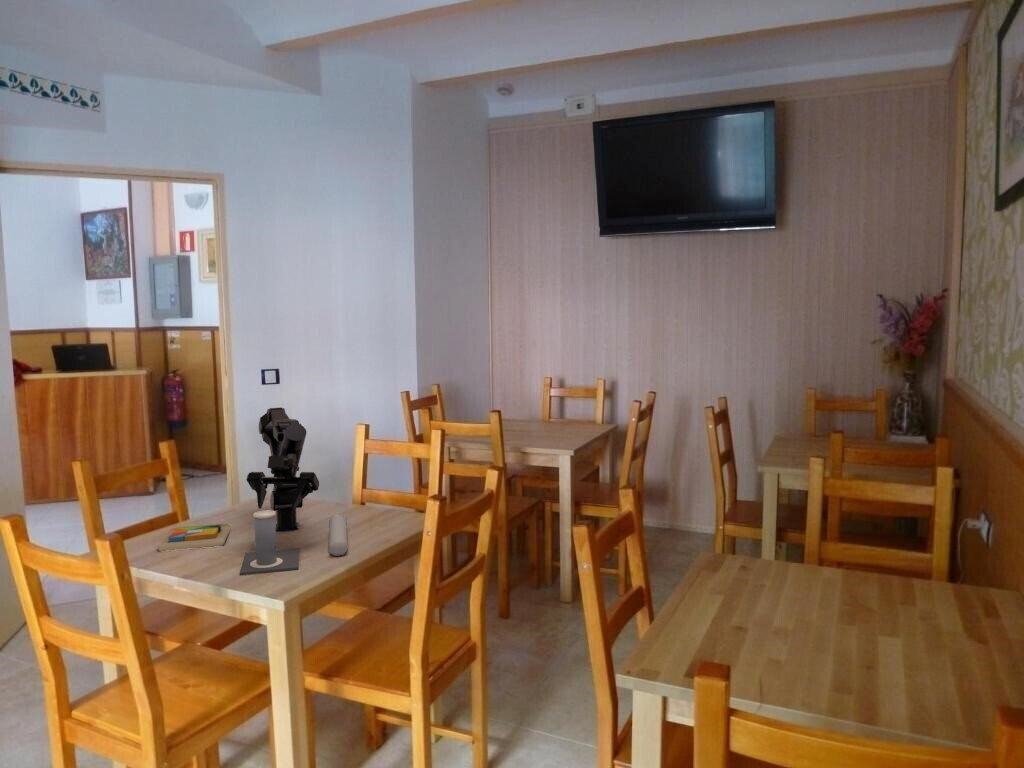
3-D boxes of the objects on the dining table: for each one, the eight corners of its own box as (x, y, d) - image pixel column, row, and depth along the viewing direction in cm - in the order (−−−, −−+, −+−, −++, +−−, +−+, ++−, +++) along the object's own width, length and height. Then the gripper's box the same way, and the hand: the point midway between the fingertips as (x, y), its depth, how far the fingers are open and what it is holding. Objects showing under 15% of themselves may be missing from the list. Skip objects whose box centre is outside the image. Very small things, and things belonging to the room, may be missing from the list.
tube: (351, 542, 197) (349, 516, 222) (331, 538, 196) (331, 512, 220) (345, 561, 198) (344, 533, 222) (325, 557, 196) (326, 529, 220)
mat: (245, 555, 200) (245, 552, 200) (299, 550, 203) (299, 547, 203) (239, 575, 184) (239, 572, 184) (298, 569, 188) (298, 566, 188)
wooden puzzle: (231, 529, 226) (231, 518, 225) (225, 548, 208) (224, 536, 207) (169, 534, 221) (168, 523, 221) (156, 554, 203) (156, 541, 203)
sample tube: (256, 559, 194) (254, 511, 192) (278, 557, 195) (275, 509, 194) (254, 566, 188) (252, 516, 187) (277, 564, 190) (274, 514, 188)
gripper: (247, 443, 204) (232, 492, 194) (314, 443, 203) (302, 492, 193) (260, 465, 212) (245, 513, 203) (324, 465, 211) (313, 514, 201)
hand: (276, 508), depth 200 cm, fingers open, 9 cm apart
